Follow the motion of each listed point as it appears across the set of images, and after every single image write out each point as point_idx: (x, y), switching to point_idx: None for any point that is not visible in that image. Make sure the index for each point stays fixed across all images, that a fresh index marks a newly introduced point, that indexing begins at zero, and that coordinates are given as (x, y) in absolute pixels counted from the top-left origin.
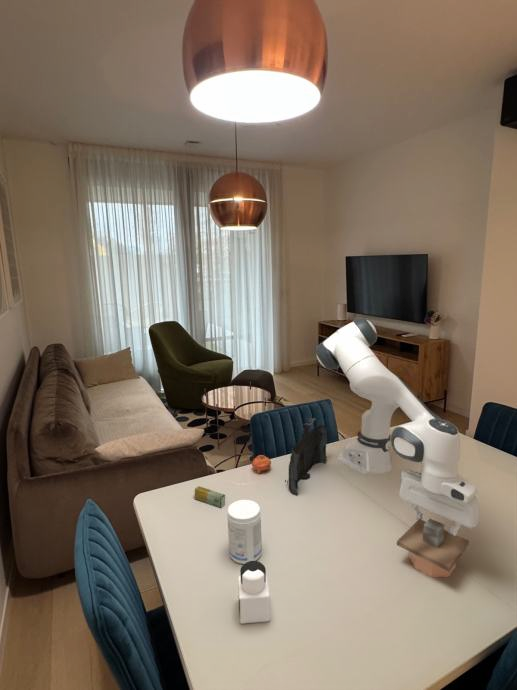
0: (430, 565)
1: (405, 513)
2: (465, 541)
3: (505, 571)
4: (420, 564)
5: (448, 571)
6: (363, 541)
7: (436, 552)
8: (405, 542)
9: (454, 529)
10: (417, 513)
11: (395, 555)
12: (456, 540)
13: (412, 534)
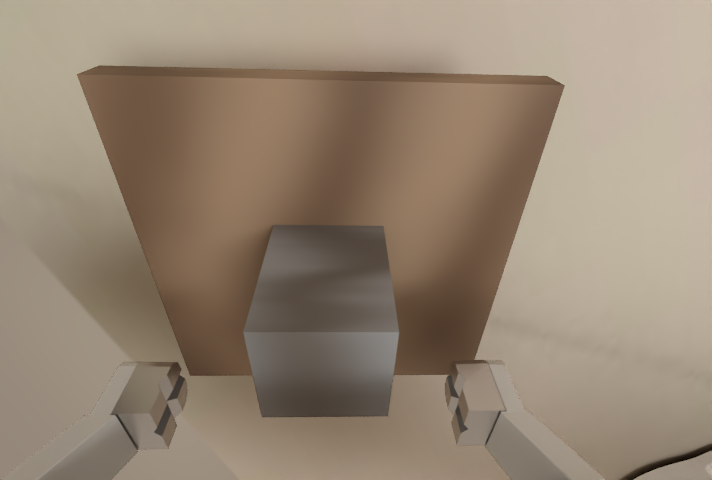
0: None
1: (526, 371)
2: (198, 363)
3: (118, 323)
4: None
5: None
6: (708, 95)
7: (251, 178)
8: (490, 122)
9: (96, 424)
10: (501, 419)
11: None
12: (234, 345)
13: (466, 241)
